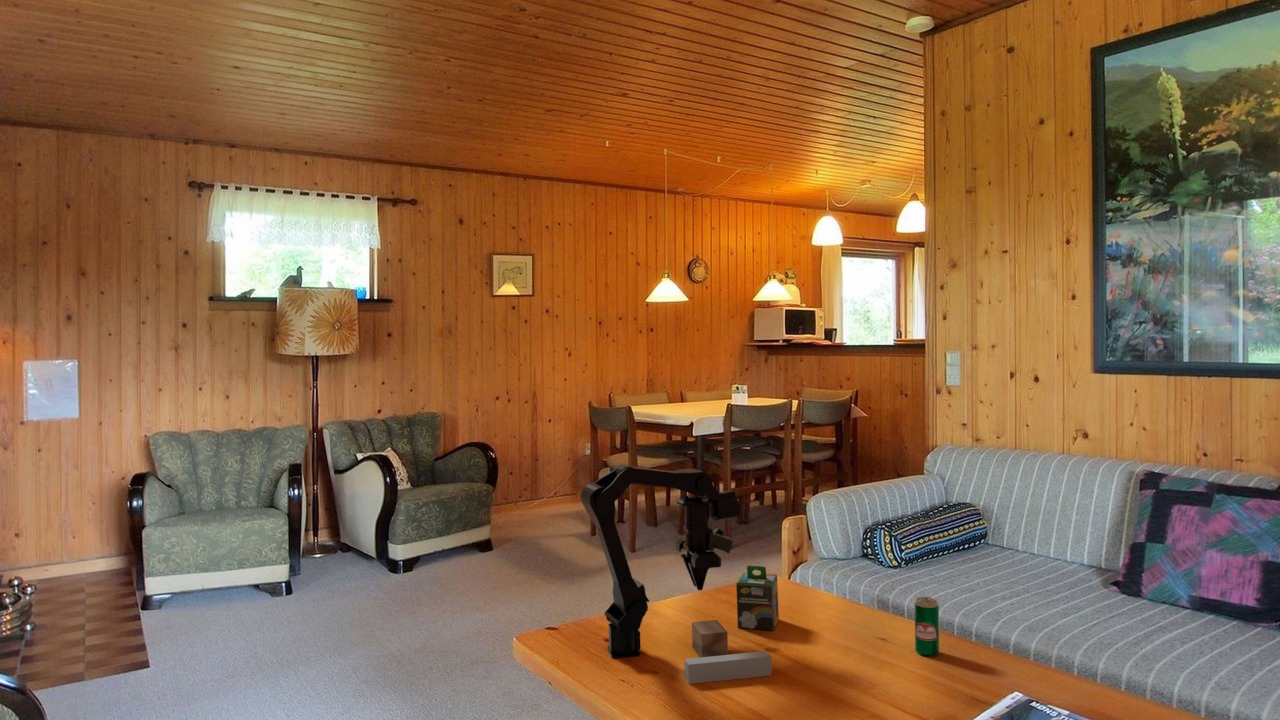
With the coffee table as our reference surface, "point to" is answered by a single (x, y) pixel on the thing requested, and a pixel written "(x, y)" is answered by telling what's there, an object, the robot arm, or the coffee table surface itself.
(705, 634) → the walnut brick
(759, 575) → the chalk box
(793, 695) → the coffee table surface
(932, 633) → the soda can
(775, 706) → the coffee table surface
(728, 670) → the batten
